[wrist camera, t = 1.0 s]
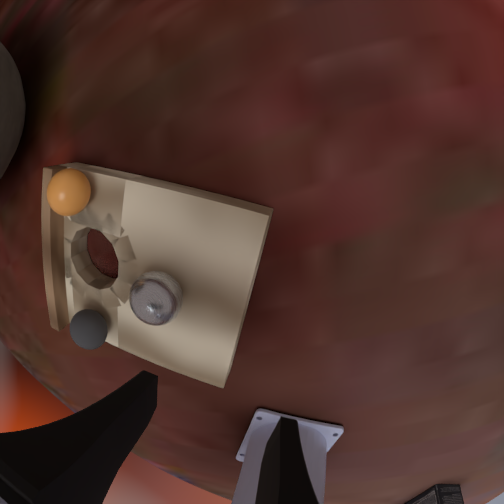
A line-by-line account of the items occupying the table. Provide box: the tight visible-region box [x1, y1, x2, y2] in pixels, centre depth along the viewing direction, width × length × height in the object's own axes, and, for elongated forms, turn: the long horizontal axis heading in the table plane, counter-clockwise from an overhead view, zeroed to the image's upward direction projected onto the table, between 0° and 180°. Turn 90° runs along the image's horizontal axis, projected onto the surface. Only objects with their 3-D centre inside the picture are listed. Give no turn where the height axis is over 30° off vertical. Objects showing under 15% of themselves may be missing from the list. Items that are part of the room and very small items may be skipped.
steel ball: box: [129, 271, 183, 326], centre depth 17 cm, size 3×3×3 cm
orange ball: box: [47, 168, 91, 216], centre depth 16 cm, size 3×3×3 cm
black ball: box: [70, 309, 108, 349], centre depth 19 cm, size 3×3×3 cm
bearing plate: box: [41, 162, 273, 388], centre depth 19 cm, size 13×15×4 cm
